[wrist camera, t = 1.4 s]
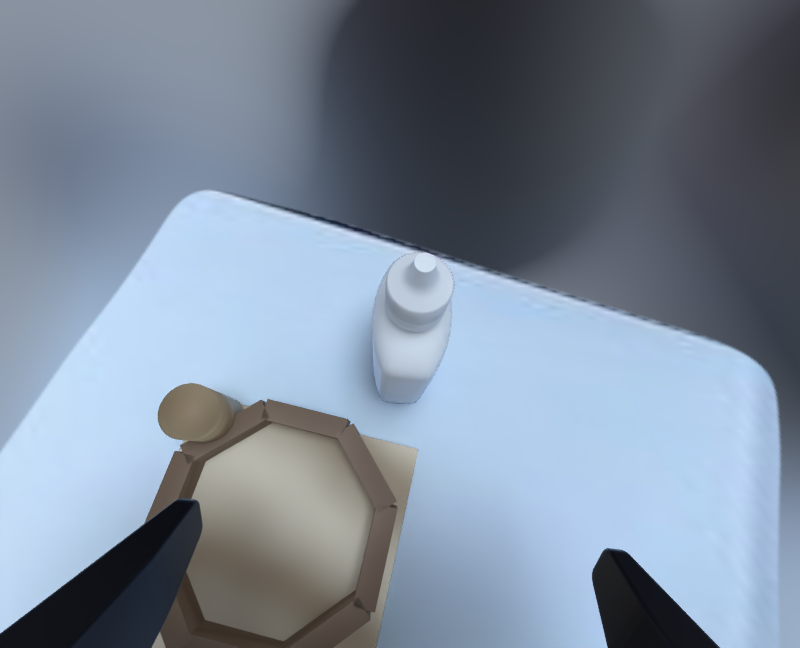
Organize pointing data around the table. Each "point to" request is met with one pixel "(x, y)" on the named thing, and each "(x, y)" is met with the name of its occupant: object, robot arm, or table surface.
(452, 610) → the table surface
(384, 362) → the eye dropper bottle
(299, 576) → the board
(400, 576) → the table surface
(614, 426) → the table surface
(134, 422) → the table surface
